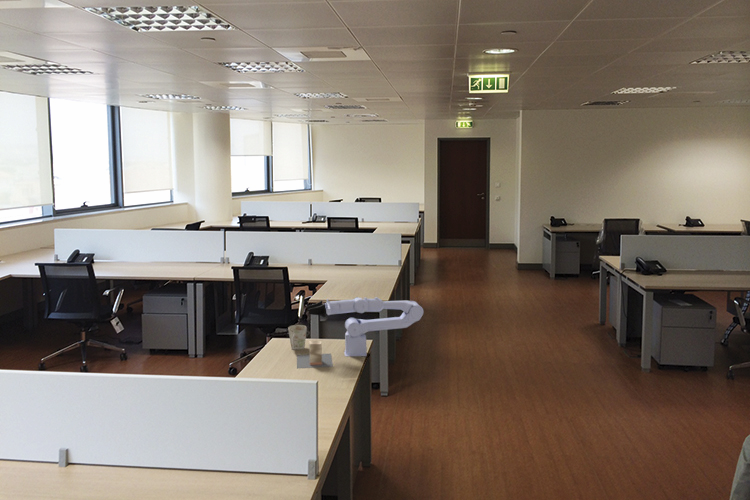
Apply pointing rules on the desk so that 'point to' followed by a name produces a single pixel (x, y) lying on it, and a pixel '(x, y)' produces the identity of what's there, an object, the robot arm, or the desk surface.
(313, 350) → the block
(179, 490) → the desk surface
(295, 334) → the mug
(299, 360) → the mat
